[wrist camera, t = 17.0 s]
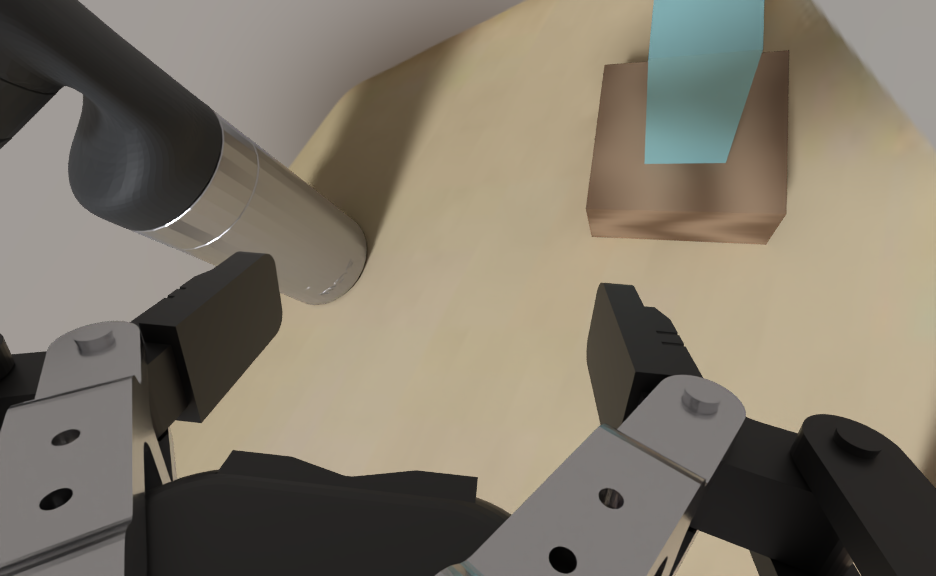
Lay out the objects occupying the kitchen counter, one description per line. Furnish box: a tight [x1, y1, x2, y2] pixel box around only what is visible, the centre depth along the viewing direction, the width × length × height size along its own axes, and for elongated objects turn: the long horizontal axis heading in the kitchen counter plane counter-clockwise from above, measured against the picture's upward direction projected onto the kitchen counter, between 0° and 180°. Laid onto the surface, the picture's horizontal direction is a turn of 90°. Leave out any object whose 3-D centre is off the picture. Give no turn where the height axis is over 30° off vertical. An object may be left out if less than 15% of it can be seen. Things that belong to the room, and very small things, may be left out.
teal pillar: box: [644, 0, 764, 164], centre depth 28 cm, size 5×5×10 cm
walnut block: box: [586, 51, 789, 244], centre depth 35 cm, size 12×12×5 cm
